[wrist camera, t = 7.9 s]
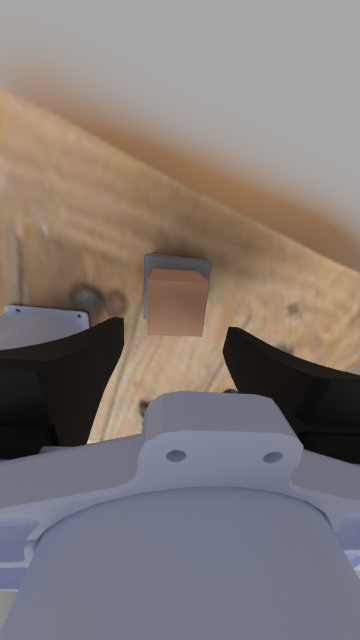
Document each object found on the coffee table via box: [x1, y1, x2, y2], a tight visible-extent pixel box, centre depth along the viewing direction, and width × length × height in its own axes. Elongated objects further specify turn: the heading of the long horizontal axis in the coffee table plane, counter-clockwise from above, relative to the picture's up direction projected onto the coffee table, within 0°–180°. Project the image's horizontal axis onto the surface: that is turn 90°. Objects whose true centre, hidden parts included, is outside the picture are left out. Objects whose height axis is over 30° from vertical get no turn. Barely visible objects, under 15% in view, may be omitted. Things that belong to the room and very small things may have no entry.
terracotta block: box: [147, 268, 209, 337], centre depth 14 cm, size 4×4×5 cm
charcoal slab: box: [144, 254, 212, 319], centre depth 18 cm, size 6×6×2 cm
